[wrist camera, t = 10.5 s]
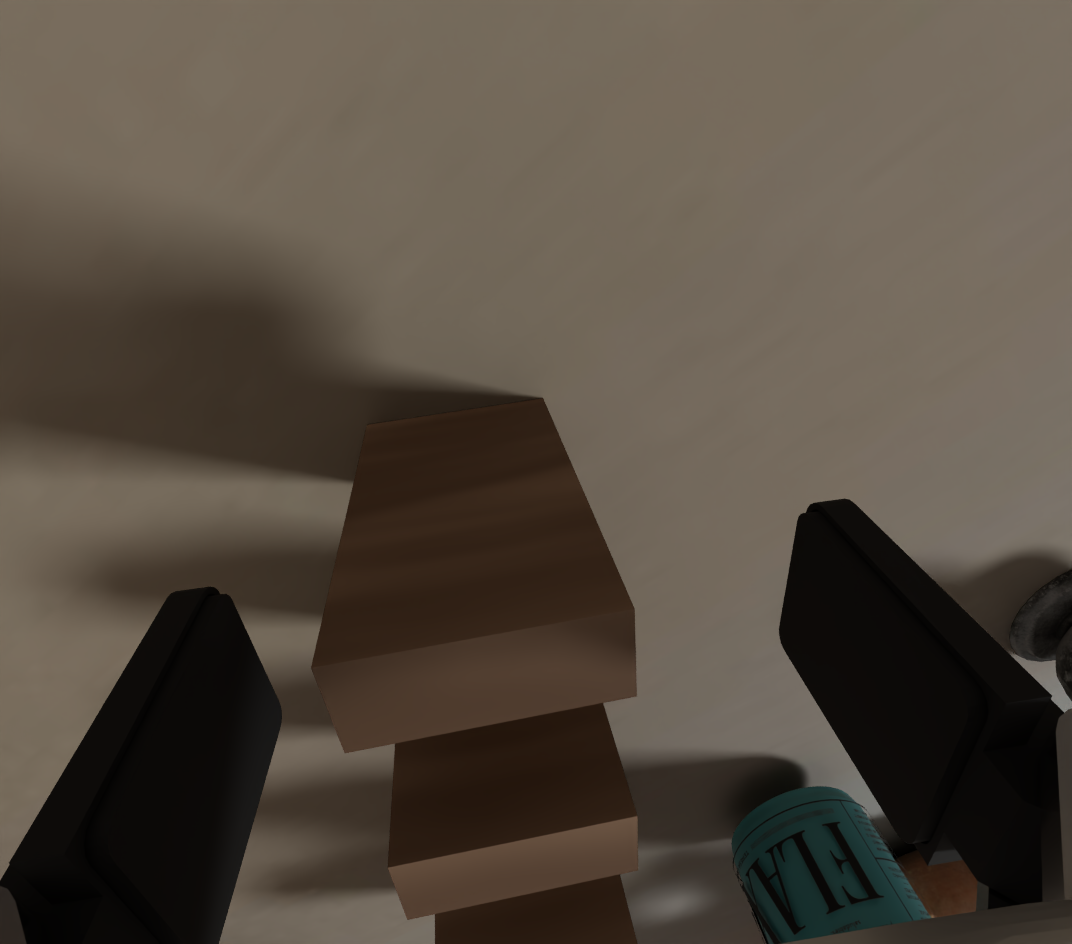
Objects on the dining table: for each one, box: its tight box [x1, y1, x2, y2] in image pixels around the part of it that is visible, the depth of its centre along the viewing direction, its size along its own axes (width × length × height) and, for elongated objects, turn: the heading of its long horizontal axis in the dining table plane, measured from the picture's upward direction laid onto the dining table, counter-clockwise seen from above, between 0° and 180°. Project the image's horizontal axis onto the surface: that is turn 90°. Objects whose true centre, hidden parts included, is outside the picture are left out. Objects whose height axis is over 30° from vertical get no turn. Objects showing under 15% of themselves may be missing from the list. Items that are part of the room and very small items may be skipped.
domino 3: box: [435, 874, 637, 944], centre depth 19 cm, size 2×5×9 cm, turn 95°
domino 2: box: [388, 703, 638, 920], centre depth 16 cm, size 2×5×9 cm, turn 95°
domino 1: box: [311, 398, 637, 753], centre depth 14 cm, size 2×5×9 cm, turn 95°
